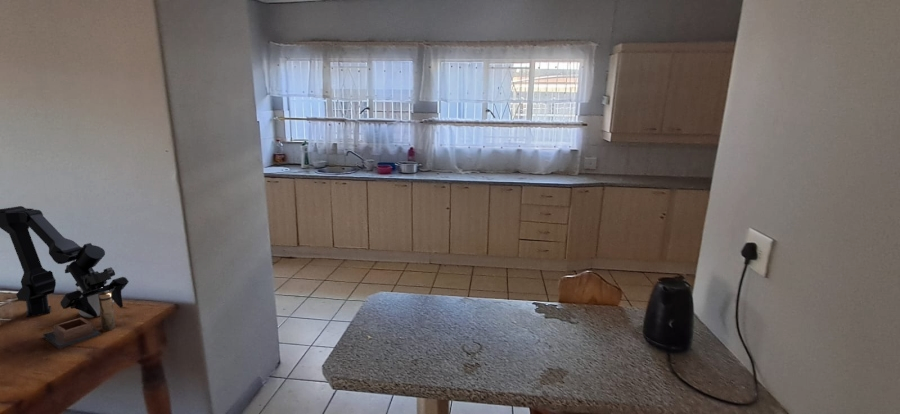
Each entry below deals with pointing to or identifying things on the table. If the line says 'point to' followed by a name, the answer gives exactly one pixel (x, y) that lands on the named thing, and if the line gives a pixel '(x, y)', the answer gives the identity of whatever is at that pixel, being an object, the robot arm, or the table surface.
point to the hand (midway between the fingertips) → (109, 311)
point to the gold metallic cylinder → (106, 310)
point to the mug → (92, 303)
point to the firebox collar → (71, 332)
